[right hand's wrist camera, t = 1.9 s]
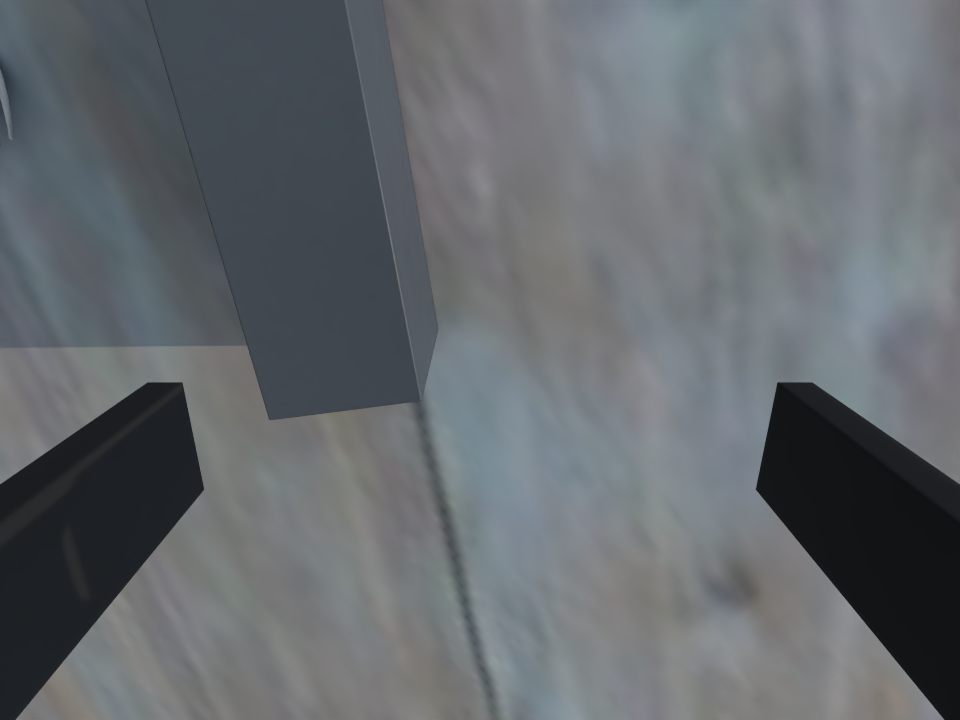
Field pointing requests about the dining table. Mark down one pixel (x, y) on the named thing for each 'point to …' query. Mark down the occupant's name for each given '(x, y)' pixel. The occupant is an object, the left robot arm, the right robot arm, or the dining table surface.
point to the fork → (6, 107)
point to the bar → (307, 194)
